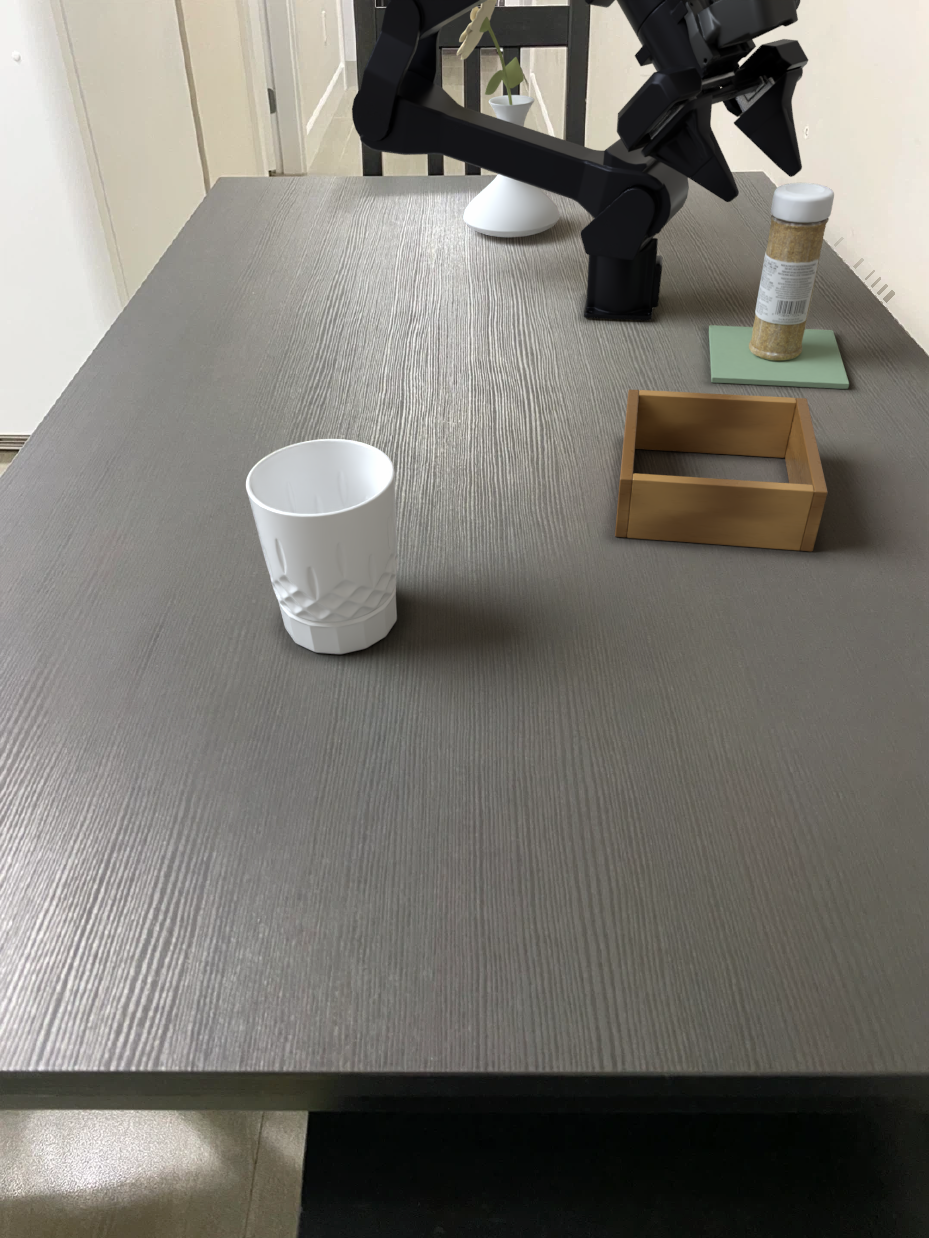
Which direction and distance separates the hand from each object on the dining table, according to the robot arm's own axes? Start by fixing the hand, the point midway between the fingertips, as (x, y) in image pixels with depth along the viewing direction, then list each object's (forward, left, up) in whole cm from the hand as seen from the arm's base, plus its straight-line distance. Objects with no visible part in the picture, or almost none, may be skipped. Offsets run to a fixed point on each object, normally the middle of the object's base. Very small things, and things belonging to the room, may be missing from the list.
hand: (766, 185), depth 75 cm
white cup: (-25, -42, -14) cm, 51 cm away
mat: (+3, -2, -14) cm, 14 cm away
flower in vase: (-25, +30, -14) cm, 41 cm away
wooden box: (-3, -25, -14) cm, 29 cm away
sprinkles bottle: (+3, -2, -13) cm, 14 cm away
